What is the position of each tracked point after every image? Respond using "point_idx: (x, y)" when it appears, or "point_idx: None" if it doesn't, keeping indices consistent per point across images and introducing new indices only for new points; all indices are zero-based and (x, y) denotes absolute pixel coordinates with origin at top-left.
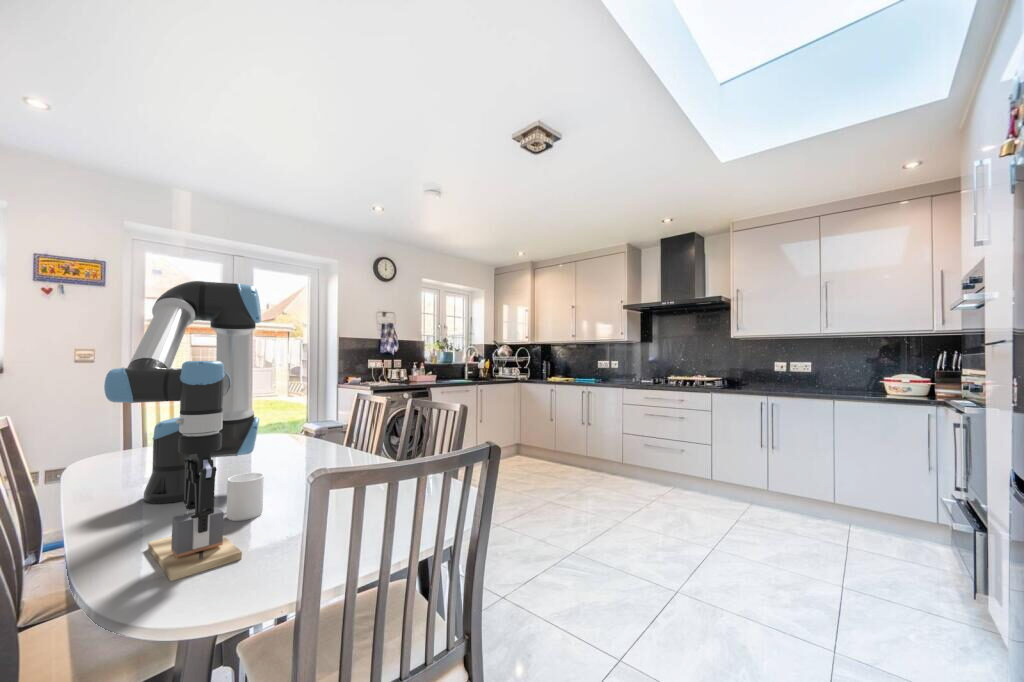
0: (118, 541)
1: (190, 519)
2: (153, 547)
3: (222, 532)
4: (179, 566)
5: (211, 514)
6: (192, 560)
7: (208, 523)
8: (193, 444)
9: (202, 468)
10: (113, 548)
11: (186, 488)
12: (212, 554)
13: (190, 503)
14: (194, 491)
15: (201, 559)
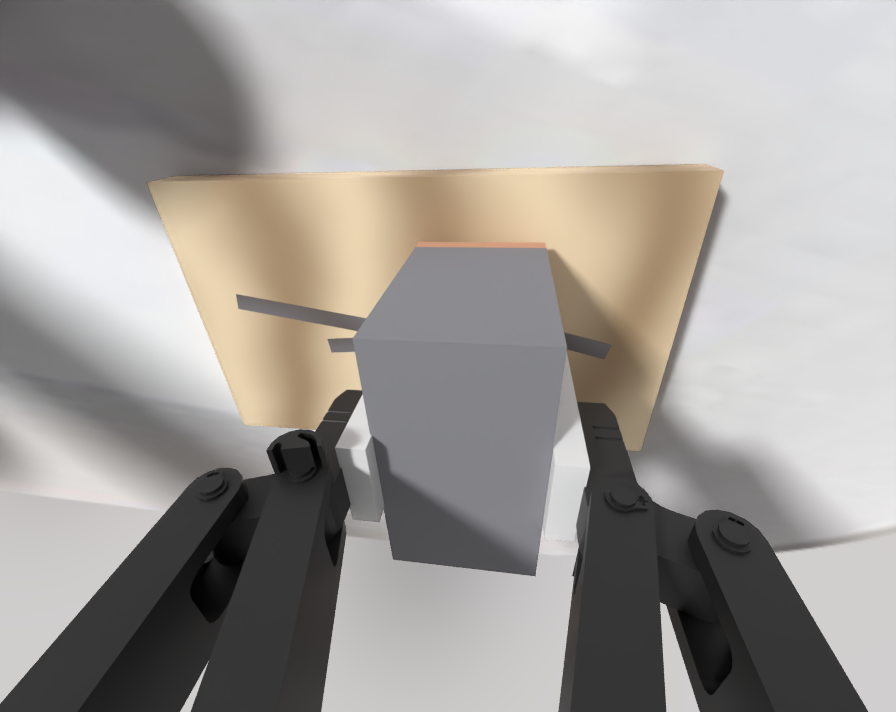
0: (135, 442)
1: (537, 532)
2: (316, 427)
3: (551, 272)
4: None
5: (546, 430)
6: (585, 376)
7: (576, 415)
8: None
9: None
10: (196, 460)
11: (183, 697)
12: (599, 302)
13: (336, 555)
14: (313, 683)
15: (610, 350)
